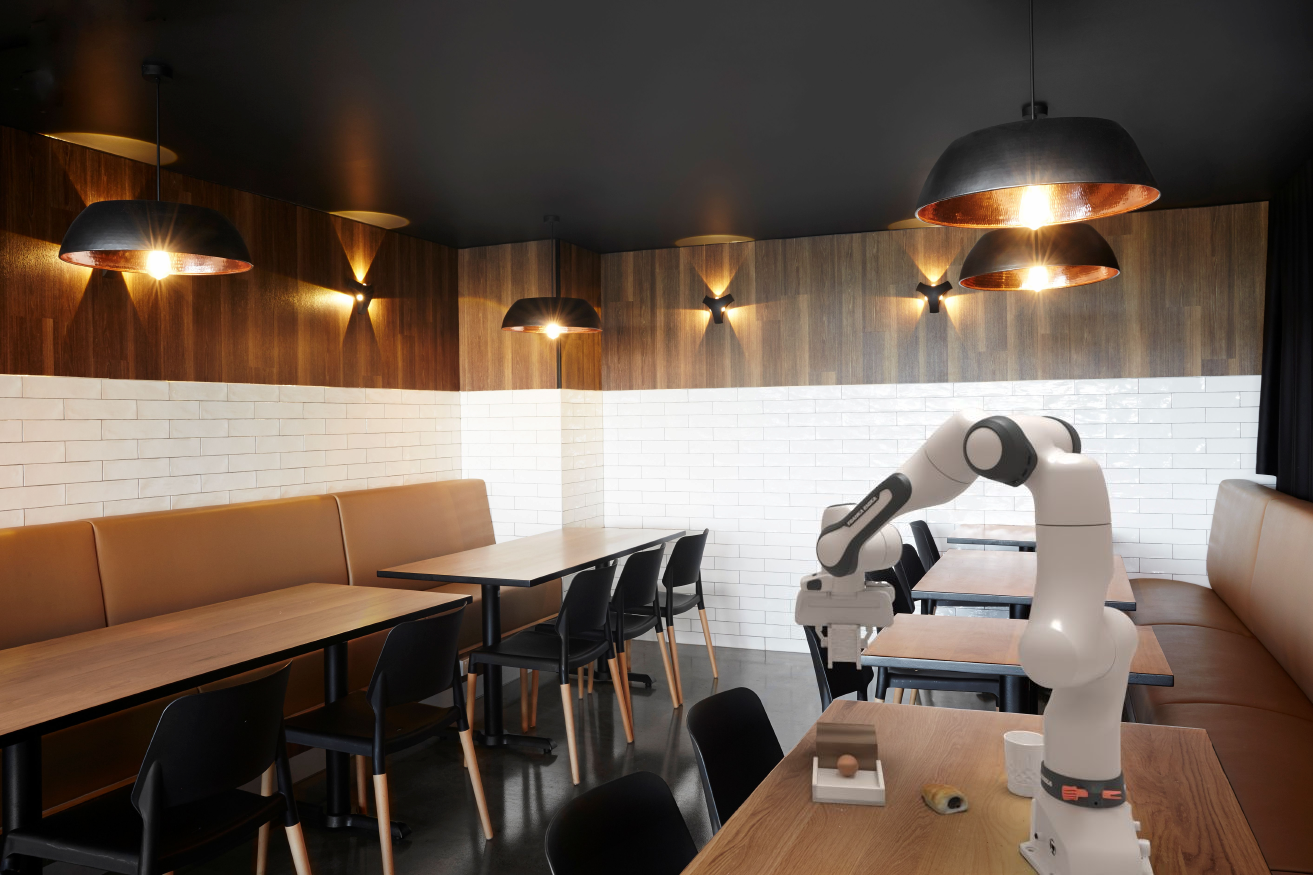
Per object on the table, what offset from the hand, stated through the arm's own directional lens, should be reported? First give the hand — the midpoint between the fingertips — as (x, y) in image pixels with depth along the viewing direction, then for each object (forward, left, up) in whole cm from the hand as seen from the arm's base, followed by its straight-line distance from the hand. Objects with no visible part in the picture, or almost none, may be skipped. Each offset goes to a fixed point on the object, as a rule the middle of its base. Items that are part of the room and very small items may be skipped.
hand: (844, 647), depth 184 cm
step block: (-2, 0, -23) cm, 23 cm away
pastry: (-21, -17, -24) cm, 36 cm away
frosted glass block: (0, 0, -4) cm, 4 cm away
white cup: (-12, -33, -23) cm, 42 cm away
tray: (-16, 0, -23) cm, 28 cm away
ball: (-12, 0, -22) cm, 25 cm away
